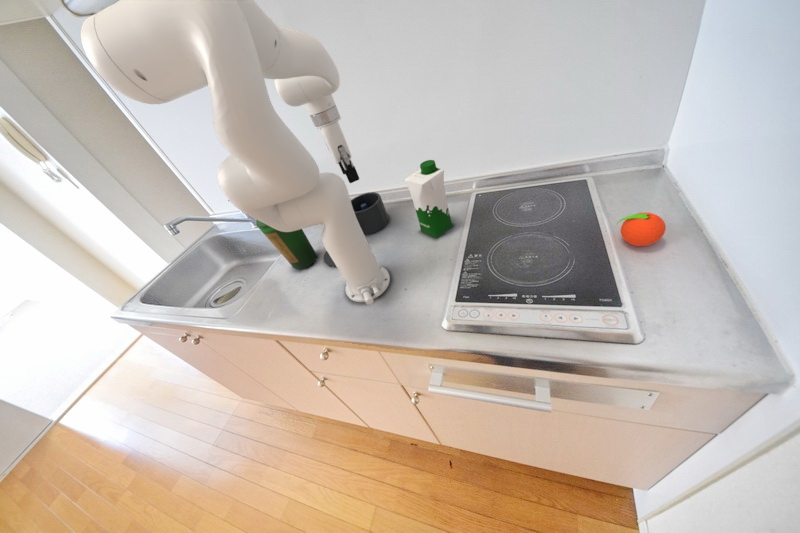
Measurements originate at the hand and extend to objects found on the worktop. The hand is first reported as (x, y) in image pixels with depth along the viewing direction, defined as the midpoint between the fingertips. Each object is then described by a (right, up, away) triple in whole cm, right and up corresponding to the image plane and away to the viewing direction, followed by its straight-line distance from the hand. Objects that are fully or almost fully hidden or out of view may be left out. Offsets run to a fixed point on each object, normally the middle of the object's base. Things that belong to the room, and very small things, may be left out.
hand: (351, 176), depth 83 cm
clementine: (+66, -23, -25) cm, 74 cm away
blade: (+5, -12, +12) cm, 18 cm away
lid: (-3, -23, +4) cm, 24 cm away
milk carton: (+27, -16, -1) cm, 31 cm away
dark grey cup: (+5, -13, +12) cm, 19 cm away
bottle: (-17, -26, +7) cm, 32 cm away
